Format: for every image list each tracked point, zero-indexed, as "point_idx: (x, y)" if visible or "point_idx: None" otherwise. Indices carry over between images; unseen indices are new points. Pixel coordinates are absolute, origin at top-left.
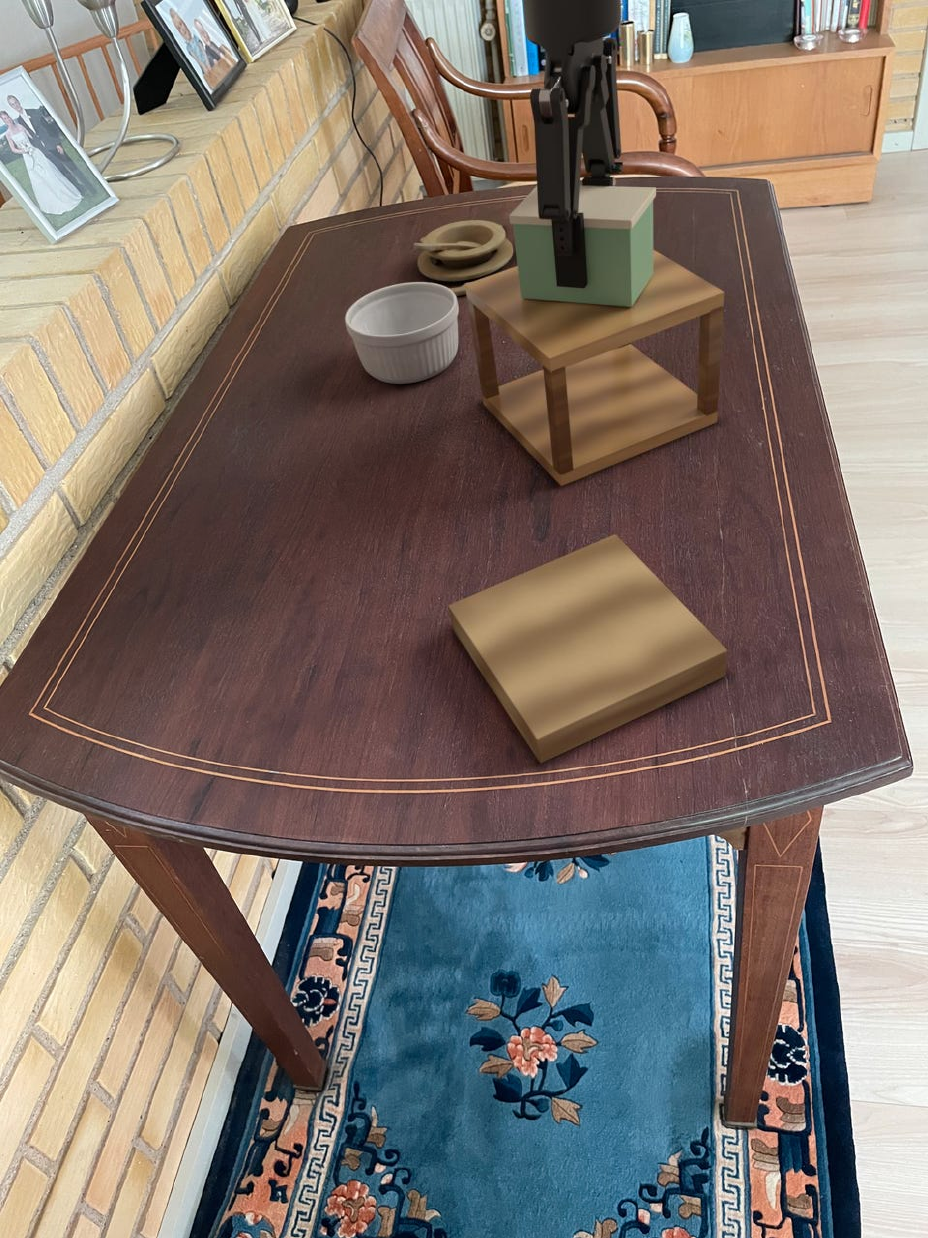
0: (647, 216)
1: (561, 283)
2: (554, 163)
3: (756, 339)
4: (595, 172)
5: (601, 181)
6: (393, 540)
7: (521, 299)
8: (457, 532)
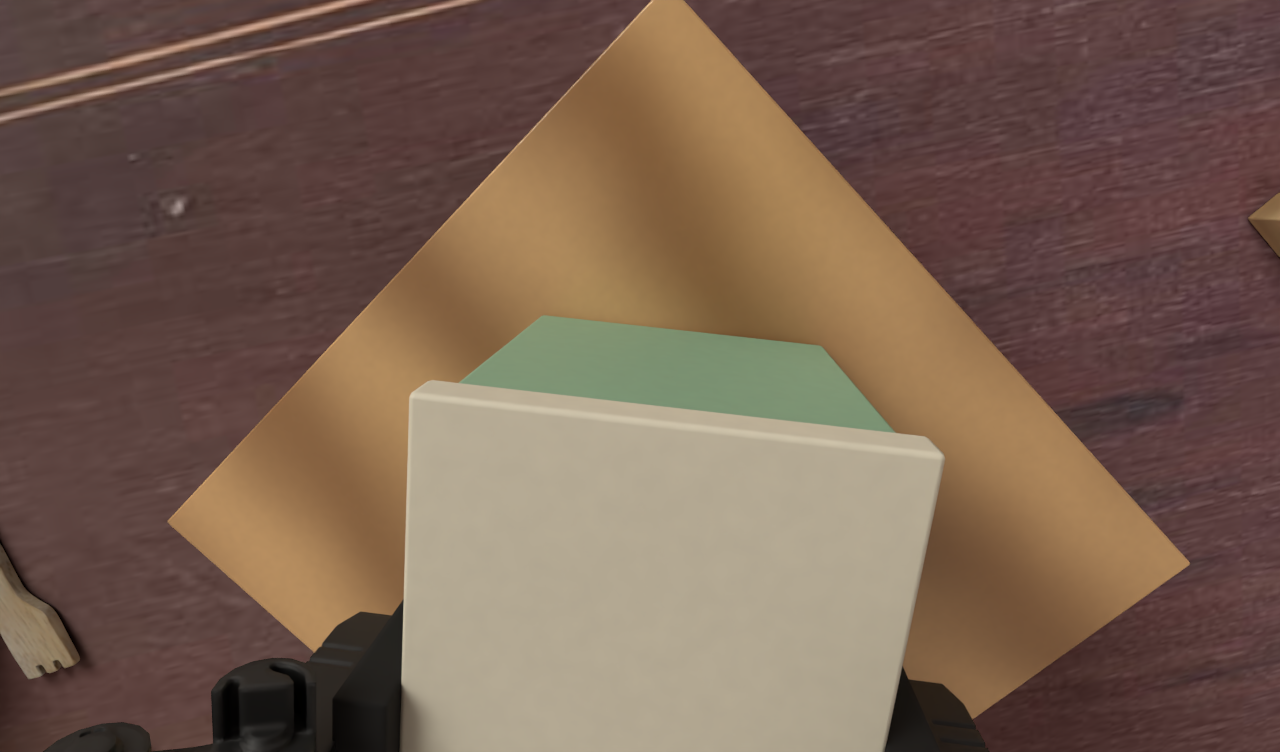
0: (579, 389)
1: None
2: None
3: (264, 40)
4: None
5: (390, 749)
6: (1184, 702)
7: None
8: None
